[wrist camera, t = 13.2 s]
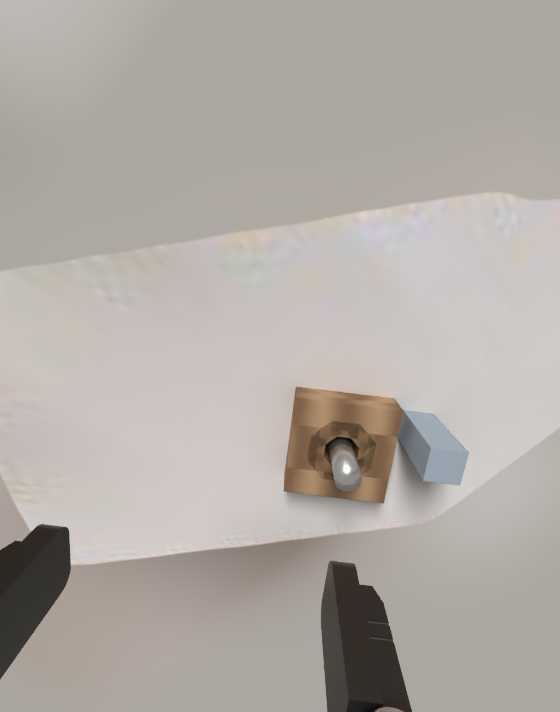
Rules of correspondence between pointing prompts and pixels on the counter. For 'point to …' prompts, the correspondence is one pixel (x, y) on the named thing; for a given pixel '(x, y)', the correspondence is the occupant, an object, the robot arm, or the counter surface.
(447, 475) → the square peg
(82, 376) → the counter surface
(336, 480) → the round peg
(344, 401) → the bore block
